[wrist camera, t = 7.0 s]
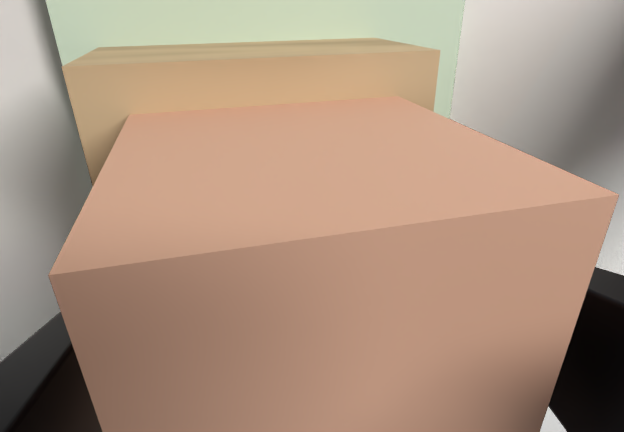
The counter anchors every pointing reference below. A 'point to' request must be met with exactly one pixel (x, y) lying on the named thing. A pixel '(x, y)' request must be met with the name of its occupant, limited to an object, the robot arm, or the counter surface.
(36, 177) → the counter surface
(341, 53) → the oak block
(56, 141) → the counter surface
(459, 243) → the terracotta block
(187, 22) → the build plate
